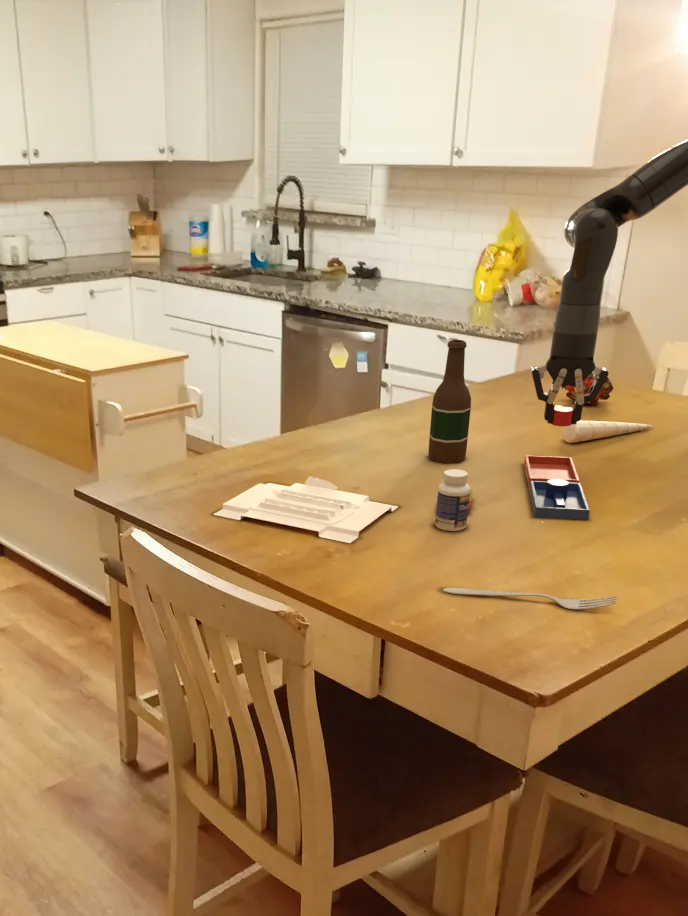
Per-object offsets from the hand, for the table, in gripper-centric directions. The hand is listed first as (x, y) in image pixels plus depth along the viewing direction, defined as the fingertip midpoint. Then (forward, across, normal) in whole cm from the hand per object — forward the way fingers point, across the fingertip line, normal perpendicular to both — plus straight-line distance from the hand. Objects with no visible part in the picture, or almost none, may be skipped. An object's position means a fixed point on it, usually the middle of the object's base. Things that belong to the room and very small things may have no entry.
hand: (561, 422), depth 179 cm
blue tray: (+12, 0, -12) cm, 17 cm away
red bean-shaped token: (0, 0, +3) cm, 3 cm away
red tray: (+12, 0, +4) cm, 12 cm away
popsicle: (+12, -18, -13) cm, 26 cm away
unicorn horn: (+12, +14, +34) cm, 38 cm away
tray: (+12, -45, -22) cm, 52 cm away
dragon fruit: (+12, +13, +62) cm, 64 cm away
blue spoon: (+11, 0, -12) cm, 17 cm away
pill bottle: (+12, -19, -26) cm, 35 cm away
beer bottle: (+12, -20, +13) cm, 27 cm away
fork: (+12, -8, -54) cm, 56 cm away
